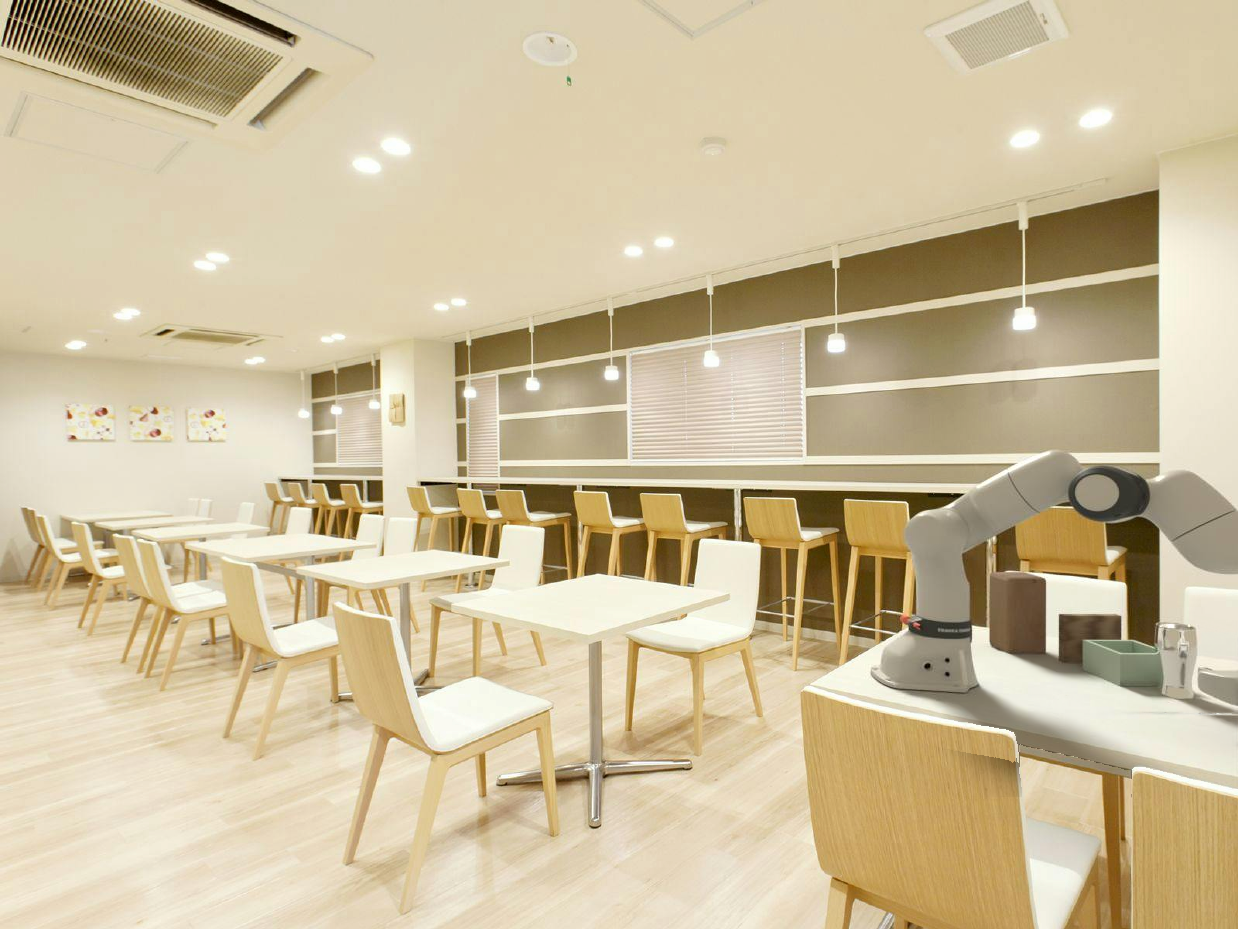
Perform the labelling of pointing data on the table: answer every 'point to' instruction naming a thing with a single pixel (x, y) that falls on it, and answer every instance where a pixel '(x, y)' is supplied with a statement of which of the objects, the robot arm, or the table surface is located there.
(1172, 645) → the beer glass
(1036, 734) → the table surface
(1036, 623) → the wooden block
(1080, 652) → the box
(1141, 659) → the sage green storage bin
